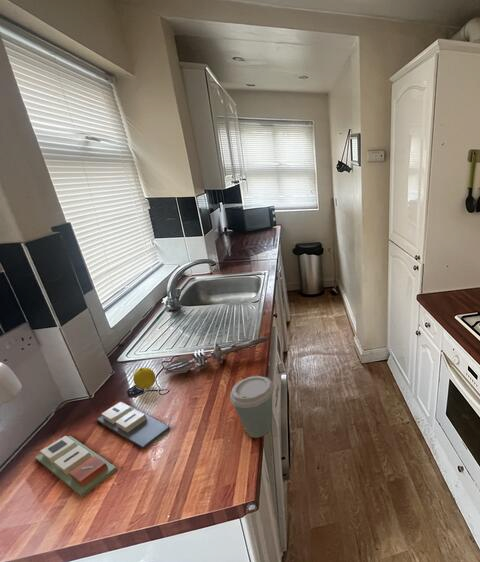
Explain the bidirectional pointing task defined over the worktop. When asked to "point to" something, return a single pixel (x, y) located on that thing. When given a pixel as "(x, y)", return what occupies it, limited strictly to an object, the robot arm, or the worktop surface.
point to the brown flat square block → (88, 470)
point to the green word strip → (71, 481)
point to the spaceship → (184, 364)
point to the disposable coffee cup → (254, 404)
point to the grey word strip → (140, 431)
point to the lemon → (144, 378)
